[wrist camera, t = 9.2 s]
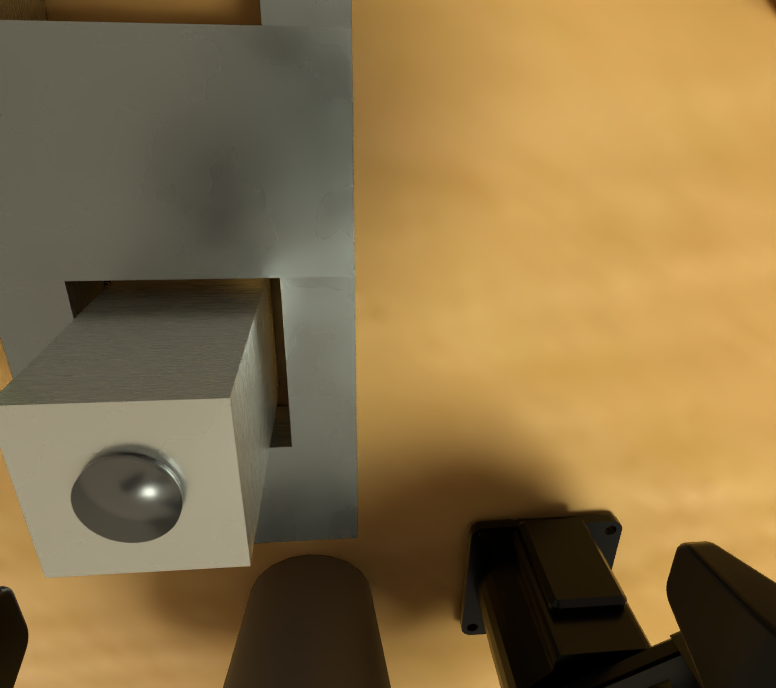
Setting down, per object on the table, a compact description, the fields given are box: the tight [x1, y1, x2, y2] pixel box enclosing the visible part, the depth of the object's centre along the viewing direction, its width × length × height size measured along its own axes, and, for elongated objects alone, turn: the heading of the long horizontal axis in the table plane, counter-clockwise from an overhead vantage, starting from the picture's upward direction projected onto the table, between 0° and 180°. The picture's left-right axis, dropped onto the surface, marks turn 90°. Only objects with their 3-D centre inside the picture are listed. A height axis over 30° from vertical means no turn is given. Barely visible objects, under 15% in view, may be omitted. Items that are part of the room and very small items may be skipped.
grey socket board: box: [0, 0, 358, 543], centre depth 16 cm, size 26×10×2 cm, turn 179°
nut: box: [0, 278, 279, 578], centre depth 16 cm, size 5×5×8 cm
